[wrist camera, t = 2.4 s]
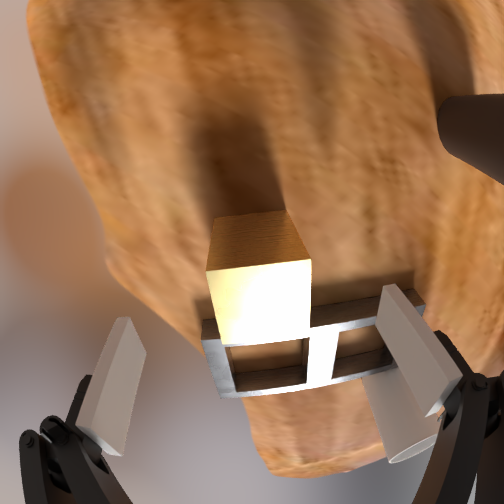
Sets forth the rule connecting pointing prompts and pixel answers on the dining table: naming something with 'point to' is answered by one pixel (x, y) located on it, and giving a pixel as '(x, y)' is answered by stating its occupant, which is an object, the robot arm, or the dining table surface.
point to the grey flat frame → (305, 352)
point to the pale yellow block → (259, 277)
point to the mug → (399, 416)
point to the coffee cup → (475, 131)
